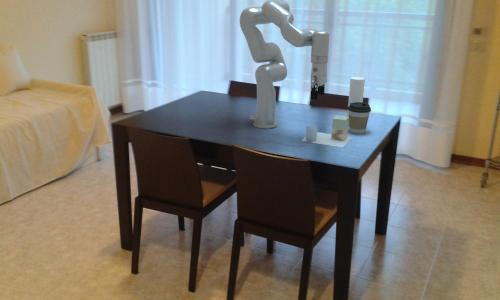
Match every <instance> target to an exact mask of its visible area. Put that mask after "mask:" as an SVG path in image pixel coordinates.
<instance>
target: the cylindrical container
mask: <svg viewBox="0 0 500 300" xmlns="http://www.w3.org/2000/svg"><path fill="white" fill-rule="evenodd" d="M365 80H366V78H365V77H361V76H351V77H350V81H349V92H348V103H347V104H348V105H347V107H348V106H350V104H351V103H354V102H362V103H364V102H363V101H364V93H365V82H366V81H365ZM346 117H349V110H348V109H347V116H346ZM348 128H349V122H348Z"/></svg>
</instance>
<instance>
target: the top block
mask: <svg viewBox="0 0 500 300" xmlns="http://www.w3.org/2000/svg"><path fill="white" fill-rule="evenodd" d="M348 122H349V117H347V116H345V115H335V116H334V117H333V118H332V124H331V130H332V129H336V130H343V131H345V130H346V129H347V128H348V129H349V127H348Z"/></svg>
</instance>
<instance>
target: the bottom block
mask: <svg viewBox="0 0 500 300" xmlns="http://www.w3.org/2000/svg"><path fill="white" fill-rule="evenodd" d="M348 130H349V127H348V128H347V129H346V130H345V131H343V130H336V129H332V128H331V134H332V137H331V139H334V140H341V141H344V140H345V139H346V138H347V137H348V132H349V131H348Z"/></svg>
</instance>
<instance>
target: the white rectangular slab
mask: <svg viewBox="0 0 500 300" xmlns="http://www.w3.org/2000/svg"><path fill="white" fill-rule="evenodd" d="M331 137H332V133H325V132H319V131H317V139H316V141H315V142H310V143H313V144H319V145H324V146H331V147H337V148H344V147H345V146H346V145H347V144H348V142H350V141H351V139H352V136H347V138H346V139H345V140H344V141H341V140H334V139H331ZM300 141H301V142H306V143H309V142H308V141H306V136H304V137H303V138H301V140H300Z"/></svg>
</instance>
